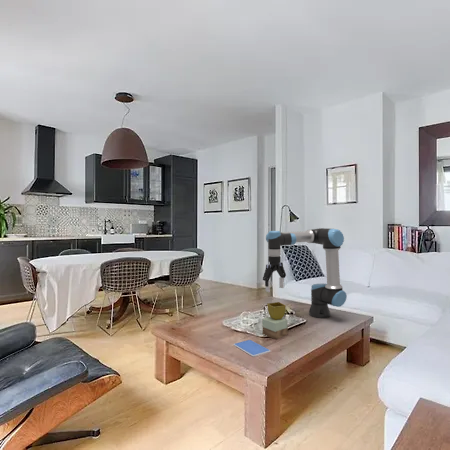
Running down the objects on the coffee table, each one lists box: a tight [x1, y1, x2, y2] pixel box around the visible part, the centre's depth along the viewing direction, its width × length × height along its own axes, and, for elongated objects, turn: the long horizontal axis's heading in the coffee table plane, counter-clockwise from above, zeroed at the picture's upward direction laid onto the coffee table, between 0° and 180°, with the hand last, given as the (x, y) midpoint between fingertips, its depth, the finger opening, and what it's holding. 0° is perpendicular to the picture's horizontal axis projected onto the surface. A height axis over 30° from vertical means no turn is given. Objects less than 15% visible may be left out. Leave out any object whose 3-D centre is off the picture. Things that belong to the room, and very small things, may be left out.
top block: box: [261, 316, 288, 332], centre depth 202 cm, size 11×11×5 cm
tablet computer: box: [233, 339, 271, 358], centre depth 182 cm, size 19×13×1 cm, turn 32°
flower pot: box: [266, 301, 287, 320], centre depth 203 cm, size 9×9×9 cm
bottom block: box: [262, 326, 289, 340], centre depth 202 cm, size 11×11×5 cm
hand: (274, 289), depth 202 cm, fingers open, 13 cm apart
